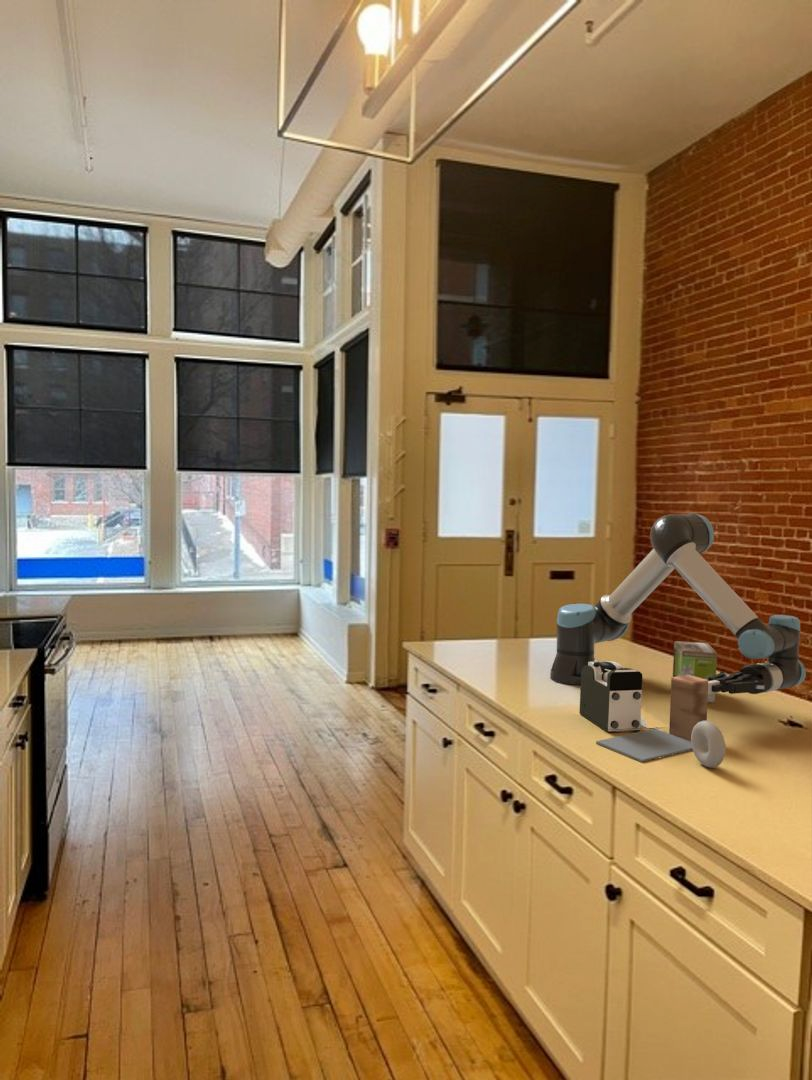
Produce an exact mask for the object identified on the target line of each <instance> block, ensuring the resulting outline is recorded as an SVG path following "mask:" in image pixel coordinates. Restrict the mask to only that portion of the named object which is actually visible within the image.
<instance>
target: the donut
mask: <svg viewBox="0 0 812 1080" xmlns="http://www.w3.org/2000/svg"><path fill="white" fill-rule="evenodd" d="M724 737H725V736H724V735H723V733H722V731H721V730H720V728H719V726H717V725H716V724H715V723H714V722H712V721H709V720H707V721H701V722H698V723H697V724H696V725H695V726H694V728H693V731H692V735H691V744H692V748H693V750H692V752H693V754H694V756H695V758H696V759H697V761H698V762H699V763H700V764H702V766H704V767H706V768H710V769H713V768H716V767H718V766H719V767H720V765H721V764H722V763H723V761H724V759H725V757H726V742H725V738H724Z"/></svg>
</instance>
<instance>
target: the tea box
mask: <svg viewBox="0 0 812 1080" xmlns="http://www.w3.org/2000/svg"><path fill="white" fill-rule="evenodd" d="M717 663H718V652H717V651H716V650H715V649H714V648H712V646H711V645H710V644H709V643H707V642H696V641H695V642H692V641H680V640H679V641H678V640H675V641H674V644H673V663H672V677H677V676H683V675H691V676H695V677H699V678H702V679H706V680H708V677H711V676H713V675H716V674H717V665H718V664H717ZM715 697H716V693H712V694H708V701H707V703H714V702H715V699H716V698H715Z"/></svg>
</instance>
